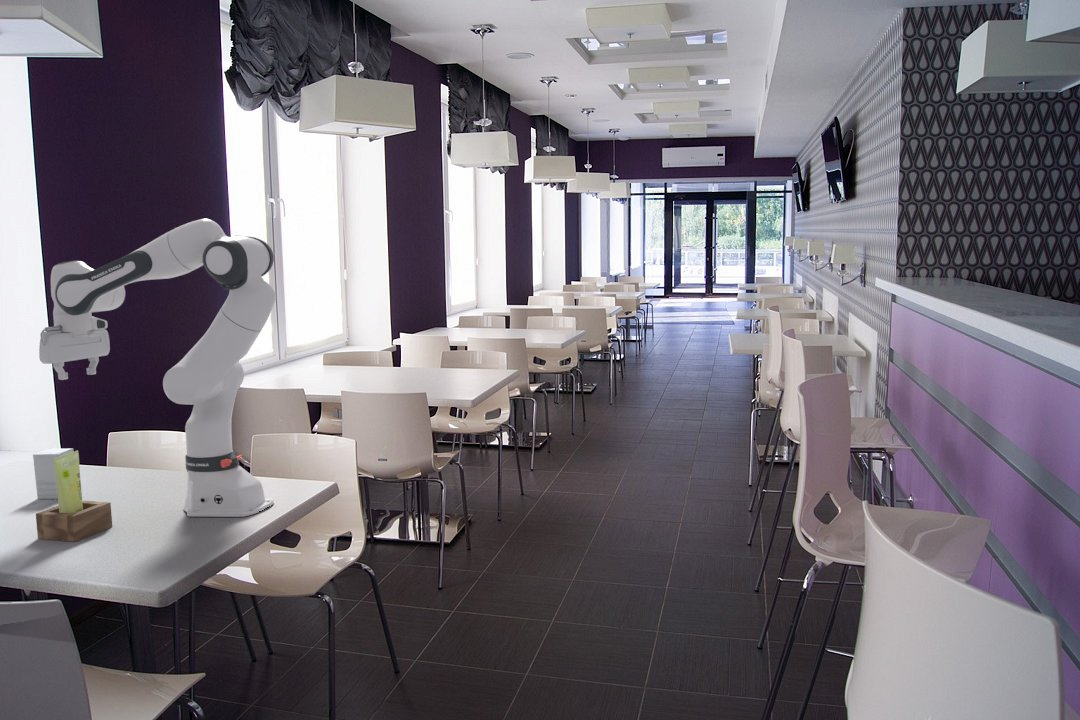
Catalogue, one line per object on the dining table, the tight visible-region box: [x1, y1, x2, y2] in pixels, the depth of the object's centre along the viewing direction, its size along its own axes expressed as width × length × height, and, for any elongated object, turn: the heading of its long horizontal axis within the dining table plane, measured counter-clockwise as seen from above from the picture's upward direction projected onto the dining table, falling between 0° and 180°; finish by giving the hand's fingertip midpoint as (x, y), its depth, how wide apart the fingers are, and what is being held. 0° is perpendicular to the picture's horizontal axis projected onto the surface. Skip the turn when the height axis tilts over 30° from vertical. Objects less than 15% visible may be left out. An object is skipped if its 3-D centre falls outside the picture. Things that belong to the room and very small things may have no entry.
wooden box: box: [35, 500, 113, 543], centre depth 206 cm, size 11×12×6 cm
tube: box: [54, 449, 83, 514], centre depth 203 cm, size 6×5×20 cm
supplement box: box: [32, 447, 74, 500], centre depth 239 cm, size 7×7×13 cm
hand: (77, 377), depth 226 cm, fingers open, 8 cm apart
